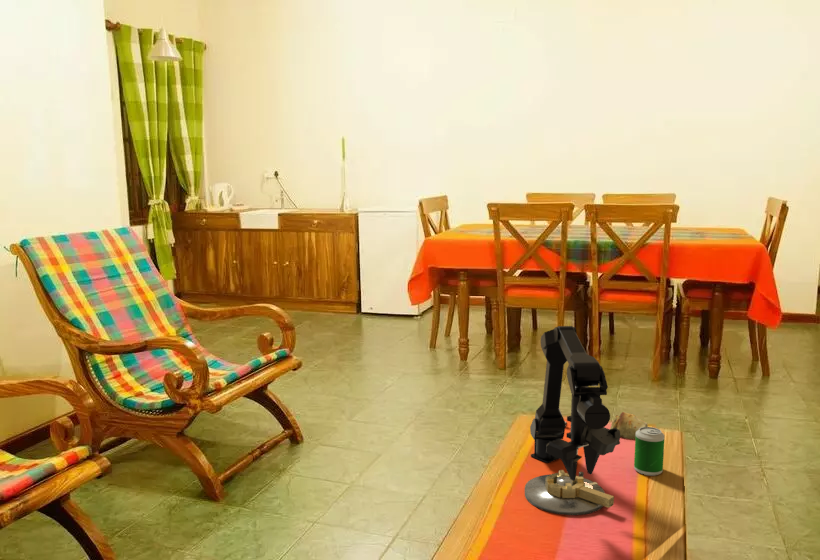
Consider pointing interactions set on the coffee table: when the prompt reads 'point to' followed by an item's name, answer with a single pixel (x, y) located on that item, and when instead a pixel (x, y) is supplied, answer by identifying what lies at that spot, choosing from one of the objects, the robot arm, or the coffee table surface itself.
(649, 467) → the soda can
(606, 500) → the brass ring wrench
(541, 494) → the flange
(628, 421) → the brown rock
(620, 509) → the coffee table surface
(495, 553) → the coffee table surface
